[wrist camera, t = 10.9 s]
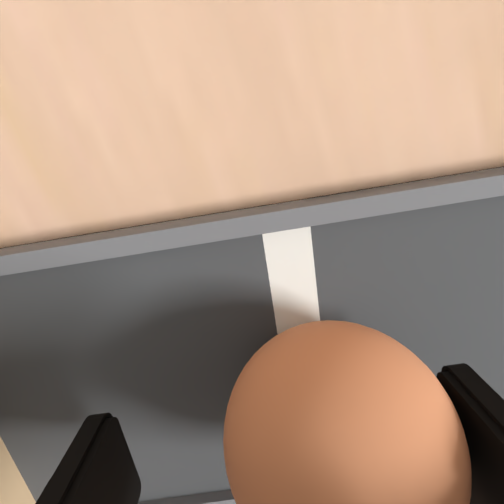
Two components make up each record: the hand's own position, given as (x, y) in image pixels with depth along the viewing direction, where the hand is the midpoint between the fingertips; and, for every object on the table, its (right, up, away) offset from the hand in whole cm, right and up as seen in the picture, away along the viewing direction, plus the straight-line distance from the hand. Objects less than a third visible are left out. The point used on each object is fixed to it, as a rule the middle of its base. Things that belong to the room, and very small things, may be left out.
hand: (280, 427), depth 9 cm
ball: (+4, +1, 0) cm, 4 cm away
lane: (0, +1, +3) cm, 3 cm away
